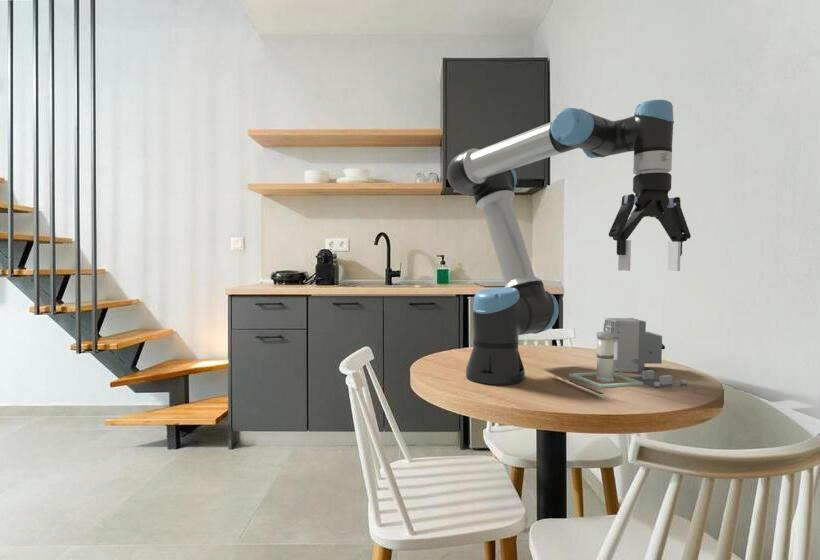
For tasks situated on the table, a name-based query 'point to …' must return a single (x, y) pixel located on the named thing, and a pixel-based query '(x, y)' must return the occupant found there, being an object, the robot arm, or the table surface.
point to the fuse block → (658, 380)
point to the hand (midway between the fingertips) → (649, 270)
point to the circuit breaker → (633, 344)
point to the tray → (577, 376)
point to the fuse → (605, 357)
